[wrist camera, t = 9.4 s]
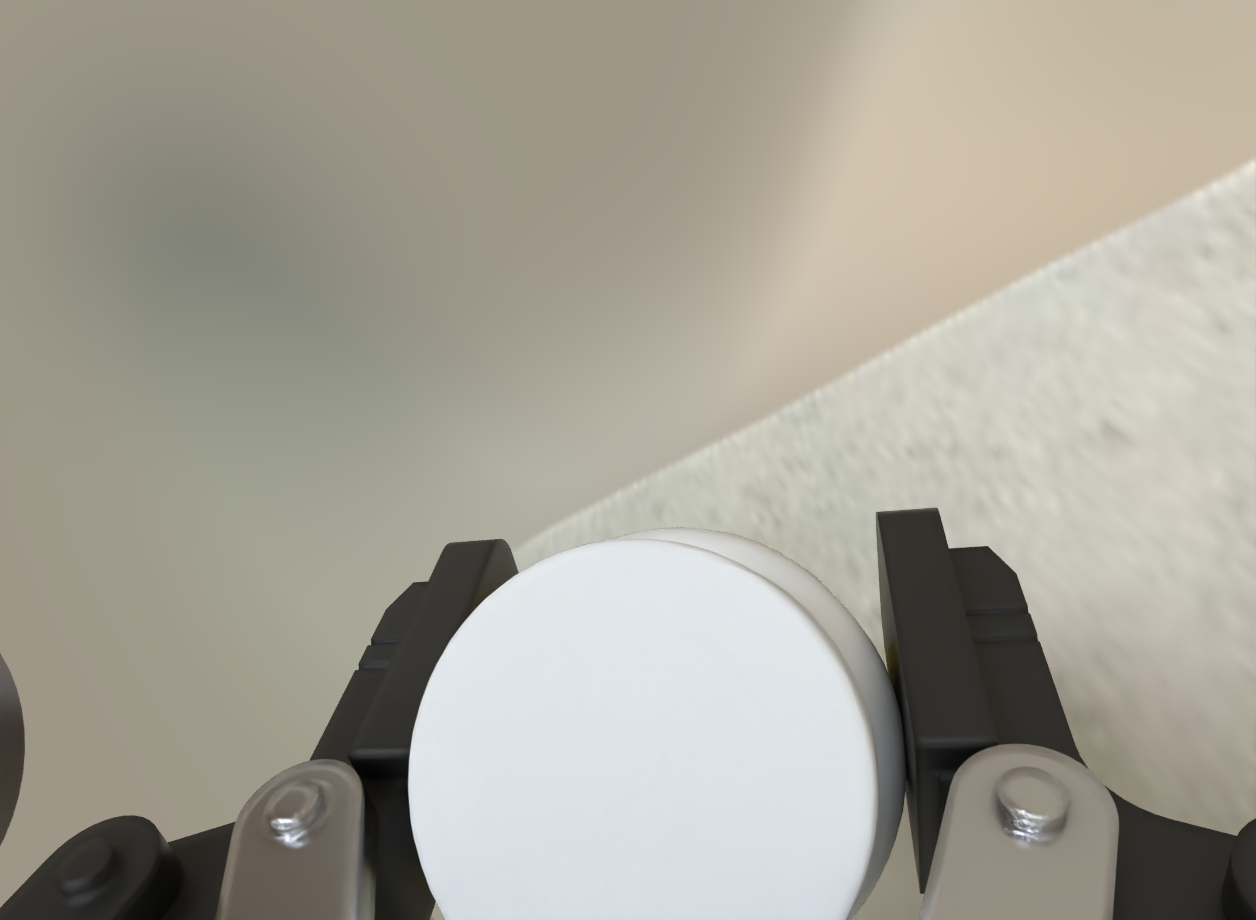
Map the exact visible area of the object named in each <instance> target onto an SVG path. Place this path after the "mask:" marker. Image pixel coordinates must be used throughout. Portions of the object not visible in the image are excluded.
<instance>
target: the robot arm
mask: <svg viewBox="0 0 1256 920" xmlns="http://www.w3.org/2000/svg"><path fill="white" fill-rule="evenodd" d="M876 533H877V551H878V568H879V586H880V603H881V617H882V628H883V637H884V646H885V654H886V661H887V668H888V675H889V677H890V680H891V682H892V685H893V689H894V692H895V695H896V699H897V702H898V706H899V709H900V713H901V717H902V724H903V732H904V741H905V752H906V785H905V792H906V799H907V806H908V812H909V819H910V826H911V833H912V840H913V847H914V854H915V861H916V868H917V874H918V881H919V888H920V894H924V899H923V903H922V907H921V911H920V915H919V919H918V920H1256V819H1254V820H1252V821H1250V822H1249V823H1248V824H1247V825H1246V826H1245V827H1244V828H1242V829H1241V830H1240V832H1239V834H1238V835H1237V836H1234V835H1231V834H1227V833H1223V832H1219V831H1215V830H1211V829H1207V828H1203V827H1199V826H1195V825H1191V824H1187V823H1183V822H1179V821H1175V820H1172V819H1168V818H1165V817H1162V816H1159V815H1155V814H1153V813H1151V812H1148V811H1146V810H1143V809H1141V808H1139V807H1137V806H1135V805H1133V804H1131V803H1130V802H1128V801H1126V800H1124V799H1122V798H1121V797H1120V796H1118V795H1117V794H1115V793H1114V792H1112V791H1111V790H1110V789H1108V788H1107V787H1106V786H1105V785H1104V784H1103V783H1102V782H1101V781H1100V780H1099V779H1098V778H1097V777H1096V776H1095V775H1094V774H1093V773H1092V772H1091V771H1090V770H1089V769H1088V767H1087V766H1086V764H1085V763H1084V761H1083V760H1082V758H1081V757H1080V755H1079V752H1078V750H1077V748H1076V746H1075V743H1074V740H1073V737H1072V734H1071V731H1070V728H1069V725H1068V722H1067V720H1066V717H1065V714H1064V711H1063V708H1062V705H1061V702H1060V699H1059V696H1058V693H1057V690H1056V688H1055V685H1054V682H1053V679H1052V676H1051V673H1050V670H1049V667H1048V664H1047V661H1046V658H1045V656H1044V653H1043V650H1042V647H1041V644H1040V642H1038V639H1037V632H1036V629H1035V627H1034V624H1033V621H1032V618H1031V615H1030V614H1029V613H1028V606H1027V603H1026V600H1025V597H1024V595H1023V592H1022V589H1021V586H1020V583H1019V580H1018V577H1017V574H1016V573H1015V572H1014V571H1013V570H1012V569H1011V568H1010V567H1009V566H1008V565H1007V564H1006V563H1005V562H1004V561H1003V560H1002V559H1001V558H1000V557H999V556H997V555H996V554H995V553H994V552H993V551H992V550H991V549H990V548H989V547H988V546H983V547H967V548H952V549H949V548H948V544H947V540H946V537H945V533H944V529H943V525H942V521H941V517H940V514H939V511H938V509H937V508H925V509H911V510H898V511H884V512H876ZM516 574H518V570H517V567H516V564H515V561H514V558H513V555H512V552H511V549H510V548H509V545H508V544H507V542H506V541H505V540H503V539H495V540H481V541H468V542H454V543H449V544H447V545H446V546H445V548H444V549H443V551H442V553H441V555H440V558H439V560H438V562H437V564H436V566H435V569H434V570H433V573H432V575H431V577H430V579H429V581H428V582H416V583H413V584H412V585H411V586H409V588H407V590H406V591H404V592H403V593H402V594H401V595H400V596H399V597H398V598H397V599H396V600H395V601H394V602H393V603H392V604H391V605H390V606H389V607H388V608H387V609H386V611H385V613H384V615H383V617H382V619H381V621H380V623H379V624H378V626H377V628H376V631H375V632H374V634H373V636H372V638H371V645H368V646H367V648H366V650H365V652H364V654H363V656H362V658H361V660H360V662H359V670H355V672H354V674H353V676H352V678H351V680H350V682H349V684H348V686H347V688H346V690H345V692H344V693H343V696H342V697H341V700H340V701H339V704H338V705H337V707H336V710H335V711H334V713H333V715H332V717H331V719H330V721H329V723H328V725H327V727H326V729H325V731H324V733H323V735H322V737H321V739H320V741H319V743H318V745H317V747H316V749H315V751H314V753H313V755H312V757H311V759H310V761H307V762H303V763H300V764H298V765H295V766H292V767H290V768H289V769H286V770H284V771H282V772H281V773H279V774H277V775H276V776H274V777H273V778H271V779H270V780H269V781H267V782H266V783H265V784H264V785H262V786H261V787H260V788H259V789H258V790H257V791H256V792H255V793H254V794H253V795H252V797H251V798H250V799H249V800H248V801H247V802H246V804H245V806H244V807H243V809H242V810H241V812H240V814H239V816H238V818H237V820H236V822H233V823H230V824H227V825H223V826H220V827H217V828H214V829H210V830H207V831H204V832H201V833H198V834H194V835H191V836H188V837H184V838H181V839H178V840H175V841H171V842H168V843H167V842H166V840H165V839H164V837H163V836H162V834H161V833H160V832H159V830H158V829H157V828H156V826H155V825H154V824H153V823H152V822H151V821H150V820H148V819H146V818H143V817H139V816H121V817H114V818H111V819H108V820H105V821H102V822H100V823H97V824H95V825H93V826H91V827H89V828H87V829H85V830H83V831H81V832H80V833H78V834H77V835H75V836H74V837H72V838H71V839H69V840H68V841H67V842H66V843H64V844H63V845H62V846H61V847H59V848H58V849H57V850H56V851H55V852H54V853H53V854H52V855H51V856H50V857H49V858H48V859H47V860H46V861H45V862H44V863H43V864H42V865H41V866H40V867H39V868H38V869H37V870H36V871H35V872H34V873H33V874H32V875H31V876H30V877H29V878H28V880H27V881H26V882H25V883H24V884H23V885H22V886H21V887H20V888H19V889H18V890H17V891H16V892H15V893H14V894H13V895H12V896H11V897H10V898H9V899H8V900H7V901H6V902H5V903H4V904H3V906H2V907H1V908H0V920H434V919H433V918H432V916H431V914H432V911H433V908H434V905H435V902H436V900H435V899H434V897H433V895H432V893H431V891H430V888H429V886H428V883H427V880H426V877H425V874H424V872H423V869H422V866H421V863H420V859H419V855H418V852H417V848H416V844H415V841H414V836H413V831H412V825H411V820H410V807H409V794H408V775H409V757H410V749H411V742H412V734H413V730H414V726H415V722H416V718H417V714H418V711H419V707H420V704H421V701H422V698H423V695H424V692H425V690H426V687H427V684H428V681H429V679H430V677H431V675H432V673H433V671H434V669H435V667H436V665H437V663H438V661H439V659H440V657H441V656H442V654H443V652H444V650H445V649H446V647H447V645H448V643H449V642H450V640H451V639H452V637H453V636H454V635H455V633H456V632H457V631H458V629H459V628H460V627H461V625H462V624H463V623H464V621H465V620H466V619H467V618H468V617H469V616H470V615H471V613H472V612H473V611H474V610H475V609H476V608H477V607H478V606H479V605H480V604H481V603H482V602H483V601H484V600H485V599H486V598H487V597H488V596H489V595H491V594H492V593H493V592H494V591H495V590H497V589H498V588H499V587H500V586H502V585H503V584H504V583H506V582H507V581H508V580H509V579H511V578H512V577H513V576H515V575H516Z"/></svg>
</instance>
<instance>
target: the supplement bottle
mask: <svg viewBox="0 0 1256 920" xmlns="http://www.w3.org/2000/svg"><path fill="white" fill-rule="evenodd" d="M905 785H906V752H905V741H904V732H903V724H902V717H901V713H900V709H899V706H898V702H897V699H896V695H895V692H894V689H893V685H892V682H891V680H890V677H889V675H888V672H887V669H886V667H885V664H884V662H883V661H882V659H881V657H880V655H879V653H878V652H877V650H876V648H875V646H874V645H873V643H872V642H871V640H870V638H869V637H868V636H867V634H866V633H865V632H864V630H863V629H862V628H861V626H860V625H859V624H858V622H857V621H856V619H855V618H854V617H853V616H852V614H851V613H850V612H849V611H848V610H847V609H846V608H845V607H844V605H843V604H842V603H841V602H840V601H839V600H838V599H837V598H836V597H835V596H834V595H833V594H832V593H831V592H830V591H829V590H828V589H827V588H826V587H825V586H824V585H823V584H822V583H821V582H820V581H819V580H818V579H817V578H816V577H815V576H814V575H812V574H811V573H810V572H809V571H808V570H806V569H805V568H803V567H802V566H800V565H799V564H797V563H796V562H794V561H793V560H791V559H789V558H788V557H786V556H784V555H783V554H781V553H779V552H778V551H776V550H774V549H772V548H770V547H768V546H765V545H763V544H761V543H759V542H756V541H754V540H751V539H748V538H745V537H742V536H739V535H735V534H731V533H726V532H720V531H713V530H707V529H695V528H684V527H676V528H661V529H652V530H645V531H640V532H635V533H631V534H627V535H624V536H620V537H616V538H613V539H611V540H608V541H600V542H595V543H590V544H585V545H582V546H579V547H575V548H572V549H569V550H566V551H563V552H560V553H558V554H555V555H553V556H550V557H548V558H546V559H544V560H541V561H539V562H537V563H536V564H534V565H532V566H530V567H529V568H527V569H525V570H523V571H522V572H520V573H518V574H516V575H515V576H513V577H512V578H511V579H509V580H508V581H507V582H506V583H504V584H503V585H502V586H500V587H499V588H498V589H497V590H495V591H494V592H493V593H492V594H491V595H489V596H488V597H487V598H486V599H485V600H484V601H483V602H482V603H481V604H480V605H479V606H478V607H477V608H476V609H475V610H474V611H473V612H472V613H471V615H470V616H469V617H468V618H467V619H466V620H465V621H464V623H463V624H462V625H461V627H460V628H459V629H458V631H457V632H456V633H455V635H454V636H453V637H452V639H451V640H450V642H449V643H448V645H447V647H446V649H445V650H444V652H443V654H442V656H441V657H440V659H439V661H438V663H437V665H436V667H435V669H434V671H433V673H432V675H431V677H430V679H429V681H428V684H427V687H426V690H425V692H424V695H423V698H422V701H421V704H420V707H419V711H418V714H417V718H416V722H415V726H414V730H413V734H412V742H411V749H410V757H409V775H408V794H409V807H410V820H411V825H412V831H413V836H414V841H415V844H416V848H417V852H418V855H419V859H420V863H421V866H422V869H423V872H424V874H425V877H426V880H427V883H428V886H429V888H430V891H431V893H432V895H433V897H434V899H435V900H436V902H437V904H438V906H439V908H440V910H441V912H442V914H443V916H444V918H445V919H446V920H851V919H852V917H853V916H854V915H855V914H856V913H857V911H858V910H859V909H860V908H861V906H862V905H863V904H864V902H865V901H866V899H867V898H868V896H869V895H870V893H871V892H872V890H873V888H874V886H875V885H876V883H877V881H878V879H879V878H880V875H881V873H882V871H883V869H884V867H885V865H886V863H887V861H888V859H889V856H890V853H891V850H892V847H893V845H894V842H895V839H896V836H897V832H898V828H899V825H900V821H901V817H902V813H903V806H904V796H905Z"/></svg>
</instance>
